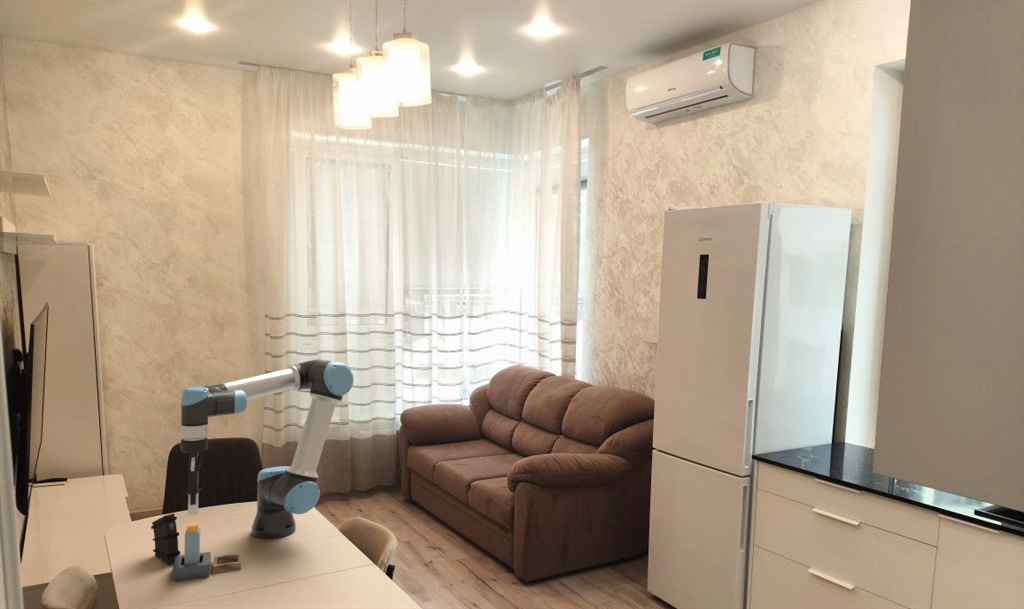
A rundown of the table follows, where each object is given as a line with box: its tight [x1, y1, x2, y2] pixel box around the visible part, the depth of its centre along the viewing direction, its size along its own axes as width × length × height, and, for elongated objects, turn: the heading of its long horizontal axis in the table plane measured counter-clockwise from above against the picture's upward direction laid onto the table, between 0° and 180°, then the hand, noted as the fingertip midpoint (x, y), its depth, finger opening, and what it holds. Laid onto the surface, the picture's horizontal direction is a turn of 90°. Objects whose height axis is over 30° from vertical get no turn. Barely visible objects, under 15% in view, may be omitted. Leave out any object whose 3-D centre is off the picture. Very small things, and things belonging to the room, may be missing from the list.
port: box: [171, 551, 212, 583], centre depth 198 cm, size 10×10×4 cm
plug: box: [184, 522, 201, 565], centre depth 198 cm, size 4×4×15 cm
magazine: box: [150, 513, 181, 566], centre depth 207 cm, size 4×13×15 cm, turn 51°
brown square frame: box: [212, 552, 242, 573], centre depth 203 cm, size 8×8×2 cm
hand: (192, 513), depth 197 cm, fingers closed
